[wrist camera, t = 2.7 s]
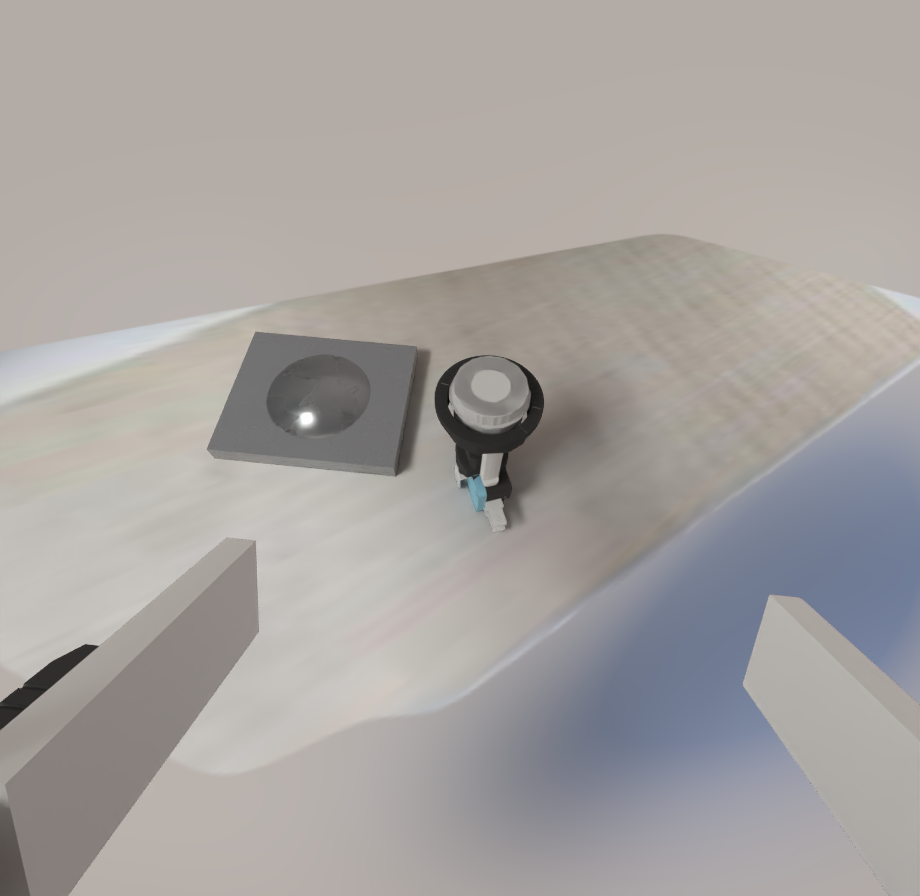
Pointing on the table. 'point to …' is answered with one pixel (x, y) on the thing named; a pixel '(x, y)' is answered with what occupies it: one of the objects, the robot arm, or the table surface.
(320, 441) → the flange plate
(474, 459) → the push button
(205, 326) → the table surface
